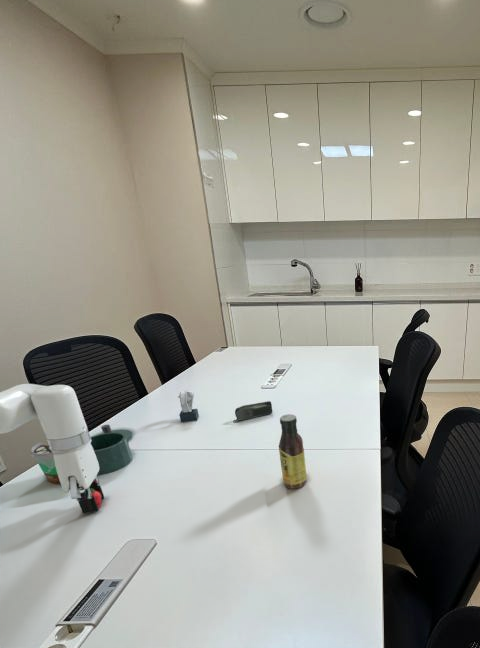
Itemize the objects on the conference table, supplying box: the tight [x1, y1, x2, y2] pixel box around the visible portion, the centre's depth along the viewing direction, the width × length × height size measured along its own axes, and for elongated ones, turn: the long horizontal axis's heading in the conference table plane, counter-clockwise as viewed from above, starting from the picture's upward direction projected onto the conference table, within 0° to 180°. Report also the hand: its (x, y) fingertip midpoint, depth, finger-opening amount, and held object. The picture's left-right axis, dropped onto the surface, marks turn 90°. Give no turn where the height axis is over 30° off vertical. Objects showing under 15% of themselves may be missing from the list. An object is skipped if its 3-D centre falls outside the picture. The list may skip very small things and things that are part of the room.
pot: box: [90, 432, 133, 476], centre depth 115 cm, size 12×12×8 cm
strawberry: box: [83, 488, 102, 508], centre depth 94 cm, size 4×4×4 cm
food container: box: [30, 441, 61, 485], centre depth 106 cm, size 12×6×10 cm, turn 76°
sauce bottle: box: [278, 413, 307, 489], centre depth 100 cm, size 7×6×20 cm
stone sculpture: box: [177, 390, 200, 423], centre depth 143 cm, size 6×8×11 cm
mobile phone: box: [232, 400, 273, 423], centre depth 144 cm, size 5×3×15 cm
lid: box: [97, 424, 133, 442], centre depth 129 cm, size 13×13×6 cm
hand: (93, 505), depth 95 cm, fingers closed on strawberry, 4 cm apart
